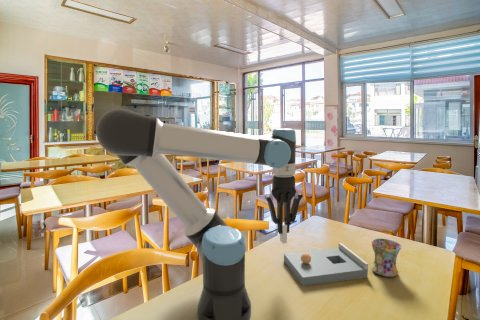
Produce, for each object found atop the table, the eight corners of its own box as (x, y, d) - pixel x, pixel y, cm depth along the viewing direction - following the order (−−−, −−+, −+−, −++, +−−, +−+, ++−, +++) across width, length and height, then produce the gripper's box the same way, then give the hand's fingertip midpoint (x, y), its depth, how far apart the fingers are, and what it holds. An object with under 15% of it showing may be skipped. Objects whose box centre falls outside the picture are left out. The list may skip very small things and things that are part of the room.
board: (302, 286, 95) (302, 271, 94) (283, 261, 112) (284, 248, 111) (367, 277, 100) (368, 263, 99) (340, 254, 117) (341, 242, 116)
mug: (405, 277, 100) (407, 248, 98) (381, 280, 98) (383, 251, 96) (382, 260, 111) (384, 234, 110) (360, 263, 110) (361, 236, 108)
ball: (303, 266, 102) (303, 256, 101) (299, 261, 105) (299, 251, 105) (312, 265, 103) (313, 255, 102) (308, 260, 106) (308, 250, 106)
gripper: (268, 178, 92) (268, 248, 96) (306, 176, 95) (305, 244, 99) (261, 173, 99) (262, 239, 103) (297, 171, 102) (296, 235, 106)
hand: (283, 241), depth 101 cm, fingers closed
